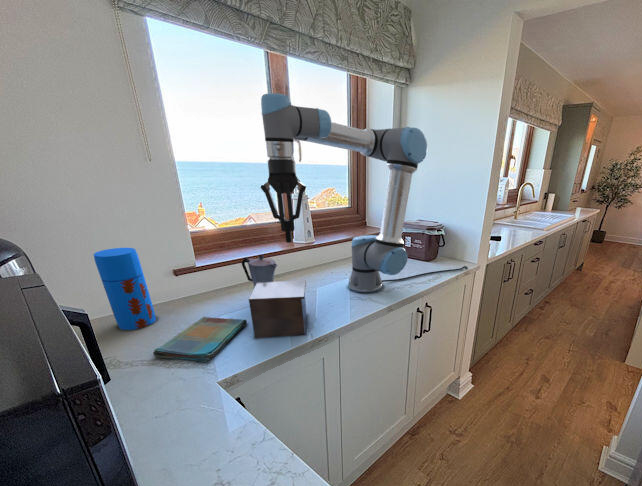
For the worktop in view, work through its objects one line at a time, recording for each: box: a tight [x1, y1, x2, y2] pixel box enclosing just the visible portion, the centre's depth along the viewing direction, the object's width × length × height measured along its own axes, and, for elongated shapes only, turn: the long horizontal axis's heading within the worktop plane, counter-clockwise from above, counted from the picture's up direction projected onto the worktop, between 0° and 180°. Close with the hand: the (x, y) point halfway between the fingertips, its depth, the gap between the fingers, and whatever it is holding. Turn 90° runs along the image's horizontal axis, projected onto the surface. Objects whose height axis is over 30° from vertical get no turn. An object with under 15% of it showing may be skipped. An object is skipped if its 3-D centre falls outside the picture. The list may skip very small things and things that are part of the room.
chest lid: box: [248, 280, 307, 303], centre depth 106 cm, size 16×15×1 cm
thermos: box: [93, 247, 157, 331], centre depth 106 cm, size 11×11×25 cm
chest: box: [248, 295, 307, 339], centre depth 109 cm, size 16×15×13 cm
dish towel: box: [152, 316, 248, 363], centre depth 102 cm, size 17×23×2 cm
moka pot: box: [241, 254, 278, 289], centre depth 124 cm, size 10×15×20 cm, turn 78°
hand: (289, 241), depth 100 cm, fingers closed
